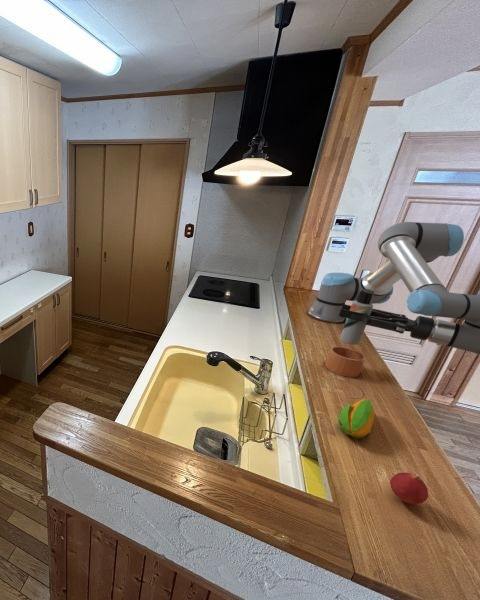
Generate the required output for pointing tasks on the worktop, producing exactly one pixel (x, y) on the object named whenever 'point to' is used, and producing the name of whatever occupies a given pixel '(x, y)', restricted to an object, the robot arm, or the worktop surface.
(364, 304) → the lotion bottle
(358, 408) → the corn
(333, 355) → the bowl
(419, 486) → the onion
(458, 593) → the worktop surface
